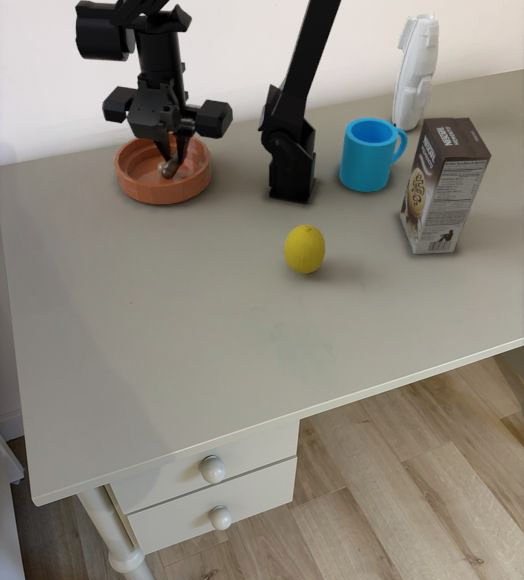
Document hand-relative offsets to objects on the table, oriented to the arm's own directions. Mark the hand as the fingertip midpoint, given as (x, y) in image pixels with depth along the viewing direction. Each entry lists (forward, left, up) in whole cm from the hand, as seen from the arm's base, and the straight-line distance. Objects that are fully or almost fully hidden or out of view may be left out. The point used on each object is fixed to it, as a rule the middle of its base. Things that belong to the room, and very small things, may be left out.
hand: (174, 162), depth 85 cm
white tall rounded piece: (-34, -28, -4) cm, 44 cm away
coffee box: (-41, +2, -4) cm, 41 cm away
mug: (-31, -11, -4) cm, 33 cm away
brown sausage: (0, 0, -1) cm, 1 cm away
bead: (+2, 0, -2) cm, 3 cm away
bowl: (+2, 0, -3) cm, 4 cm away
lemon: (-25, +15, -4) cm, 29 cm away
